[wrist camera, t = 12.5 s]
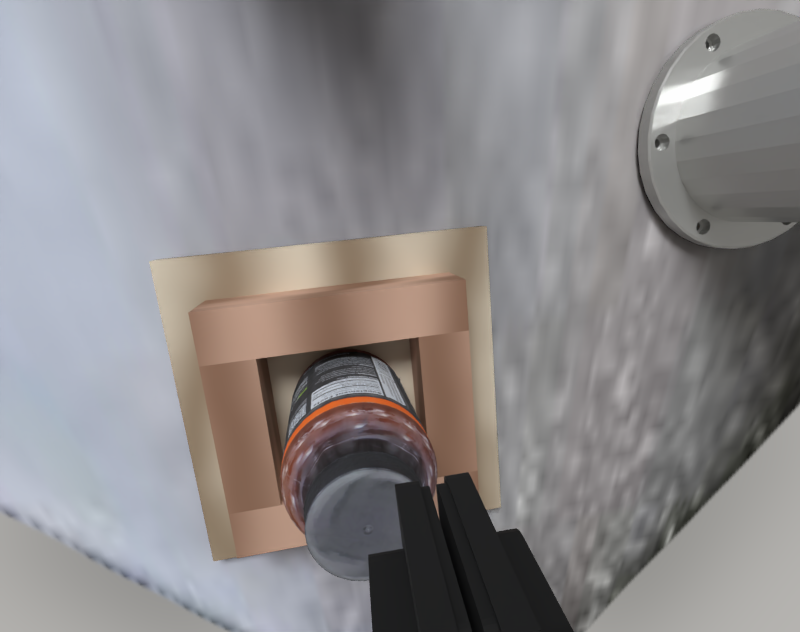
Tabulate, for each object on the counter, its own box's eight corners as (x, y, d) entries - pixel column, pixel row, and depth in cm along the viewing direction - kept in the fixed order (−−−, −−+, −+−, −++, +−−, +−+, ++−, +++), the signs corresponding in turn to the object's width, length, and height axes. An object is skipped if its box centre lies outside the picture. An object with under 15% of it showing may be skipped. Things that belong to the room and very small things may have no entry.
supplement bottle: (396, 448, 27) (448, 609, 16) (289, 447, 26) (265, 618, 15) (407, 347, 25) (471, 445, 15) (295, 341, 24) (274, 441, 13)
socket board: (480, 226, 26) (508, 228, 22) (495, 497, 30) (520, 540, 26) (156, 259, 23) (123, 268, 20) (217, 548, 27) (199, 604, 23)
